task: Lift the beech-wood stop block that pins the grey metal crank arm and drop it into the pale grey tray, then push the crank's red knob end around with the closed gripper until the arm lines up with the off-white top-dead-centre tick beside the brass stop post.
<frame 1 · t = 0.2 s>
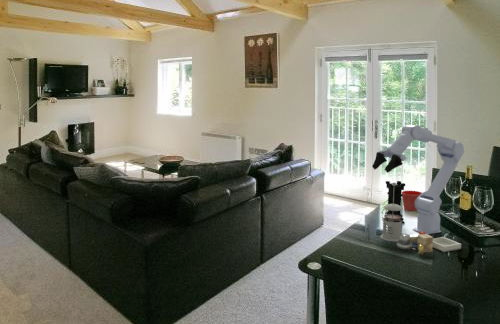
hand: (379, 169, 166), 31 cm above the table, tool tilted 45°, fingers open, 7 cm apart
tray: (443, 246, 162), on the table
stop block: (424, 250, 159), on the table
crank: (412, 237, 162), point 4 cm above the table, hinge at 170.0°
flower pot: (411, 209, 218), on the table
french press: (390, 237, 174), on the table
crank base: (404, 246, 162), on the table
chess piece: (393, 221, 197), on the table
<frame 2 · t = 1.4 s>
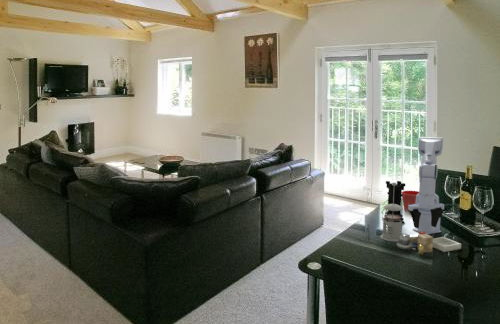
hand: (424, 227, 157), 10 cm above the table, tool pointing down, fingers open, 7 cm apart
nothing on the table moved.
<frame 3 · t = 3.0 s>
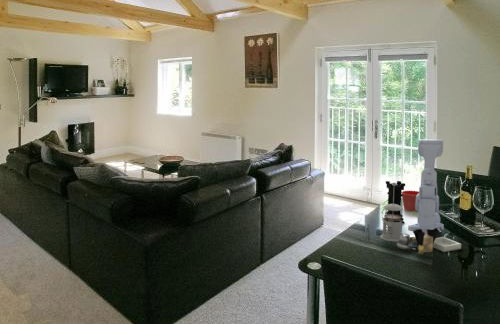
hand: (424, 246, 158), 1 cm above the table, tool pointing down, fingers closed on stop block, 4 cm apart
stop block: (424, 250, 159), on the table, touching gripper
everything else where it was.
when the fingers open (3 cm above the table, at t = 5.7 s): stop block drops 1 cm, resting on tray.
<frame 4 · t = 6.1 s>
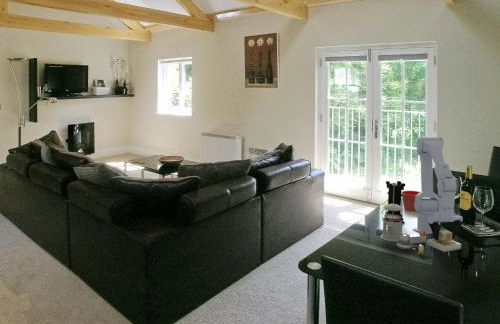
hand: (444, 238, 161), 3 cm above the table, tool pointing down, fingers open, 7 cm apart
stop block: (443, 245, 162), resting on tray
everything else where it was.
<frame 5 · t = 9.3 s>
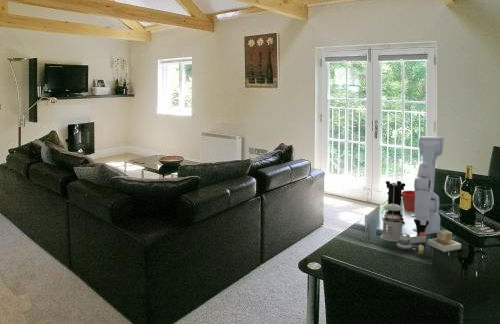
hand: (420, 236, 166), 3 cm above the table, tool pointing down, fingers closed, pressing on crank
crank: (412, 237, 162), point 4 cm above the table, hinge at 169.8°, touching gripper
everything else where it was.
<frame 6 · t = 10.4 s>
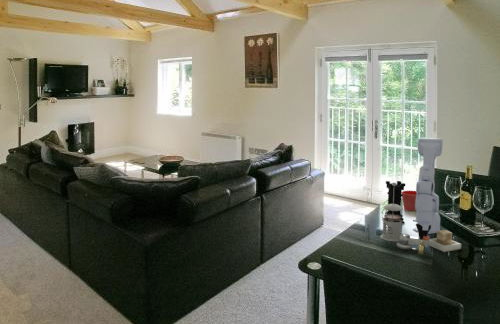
hand: (422, 241, 161), 3 cm above the table, tool pointing down, fingers closed, pressing on crank
crank: (413, 239, 160), point 4 cm above the table, hinge at 132.7°, touching gripper
everything else where it was.
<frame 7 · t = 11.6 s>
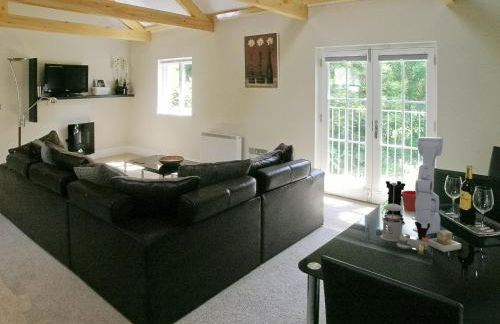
hand: (421, 239, 162), 3 cm above the table, tool pointing down, fingers closed
crank: (413, 239, 159), point 4 cm above the table, hinge at 118.5°
everything else where it was.
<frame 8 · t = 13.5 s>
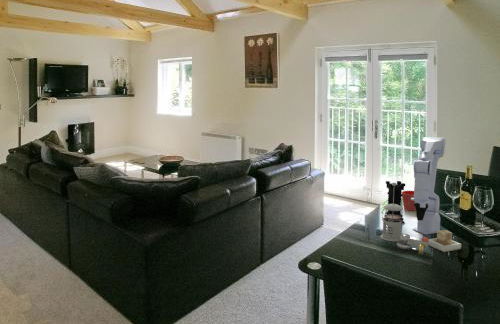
hand: (419, 219, 166), 10 cm above the table, tool pointing down, fingers closed
nothing on the table moved.
at the end: crank at +118° (first picture: +170°); stop block 0.1 cm off-centre on the tray, point 0.5 cm above the tray's base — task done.
